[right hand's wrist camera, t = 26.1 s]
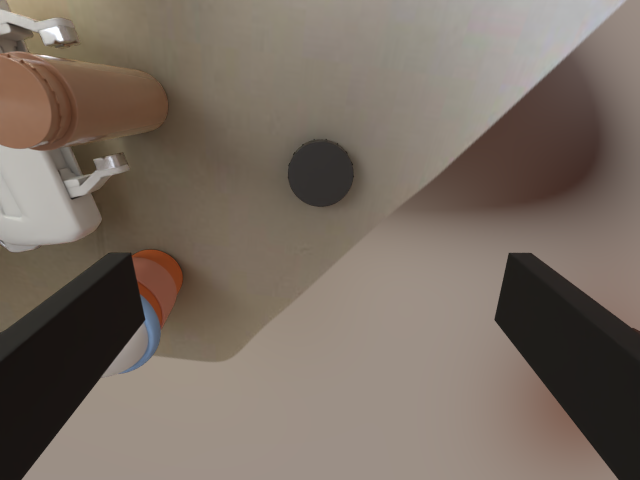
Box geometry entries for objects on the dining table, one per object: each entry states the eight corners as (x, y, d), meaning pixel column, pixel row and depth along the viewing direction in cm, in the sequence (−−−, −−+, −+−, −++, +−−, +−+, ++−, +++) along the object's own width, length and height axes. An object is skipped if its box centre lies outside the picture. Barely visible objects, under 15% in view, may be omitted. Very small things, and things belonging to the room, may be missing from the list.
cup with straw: (183, 320, 42) (92, 468, 25) (105, 292, 41) (-47, 428, 24) (207, 255, 39) (122, 374, 22) (124, 222, 37) (-34, 322, 21)
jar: (180, 107, 34) (78, 113, 19) (141, 144, 35) (19, 174, 21) (136, 56, 32) (-10, 22, 18) (97, 96, 33) (-69, 94, 19)
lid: (282, 146, 35) (280, 148, 33) (346, 132, 34) (347, 134, 33) (296, 207, 37) (295, 212, 35) (357, 195, 37) (359, 200, 35)
